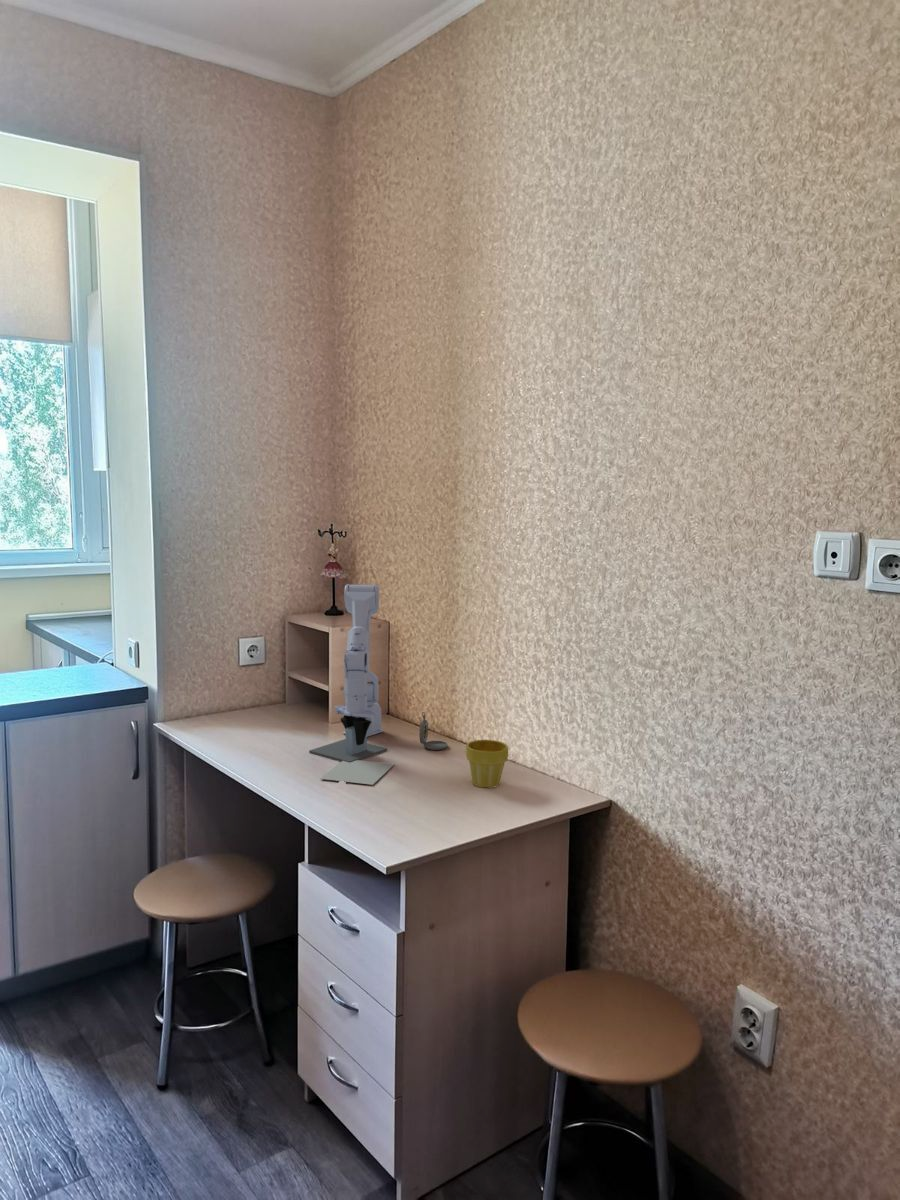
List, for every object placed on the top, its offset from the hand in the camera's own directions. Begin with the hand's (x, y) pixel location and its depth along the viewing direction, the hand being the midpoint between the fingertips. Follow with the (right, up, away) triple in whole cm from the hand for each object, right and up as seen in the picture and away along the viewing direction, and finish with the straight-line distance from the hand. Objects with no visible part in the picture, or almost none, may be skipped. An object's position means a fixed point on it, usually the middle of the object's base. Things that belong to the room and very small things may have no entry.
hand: (356, 743), depth 235 cm
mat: (-2, -3, +2) cm, 4 cm away
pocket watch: (+20, -3, +8) cm, 22 cm away
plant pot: (+35, -7, -22) cm, 41 cm away
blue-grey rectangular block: (0, -2, 0) cm, 2 cm away
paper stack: (+6, -6, -20) cm, 22 cm away
